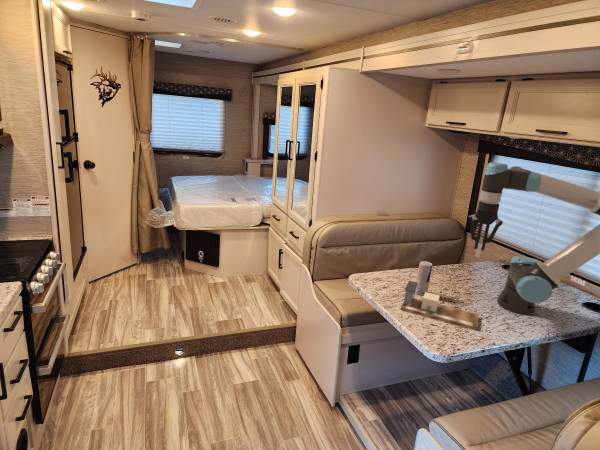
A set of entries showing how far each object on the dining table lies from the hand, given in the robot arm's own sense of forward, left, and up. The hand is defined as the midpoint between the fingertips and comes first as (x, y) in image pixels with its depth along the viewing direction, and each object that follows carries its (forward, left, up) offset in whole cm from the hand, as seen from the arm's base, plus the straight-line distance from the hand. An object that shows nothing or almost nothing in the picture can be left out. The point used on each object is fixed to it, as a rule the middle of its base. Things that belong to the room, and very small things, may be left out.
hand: (477, 256), depth 164 cm
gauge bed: (+10, +11, -24) cm, 29 cm away
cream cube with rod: (+14, +12, -23) cm, 30 cm away
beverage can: (+20, -5, -25) cm, 32 cm away
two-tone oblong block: (+23, +10, -23) cm, 34 cm away
